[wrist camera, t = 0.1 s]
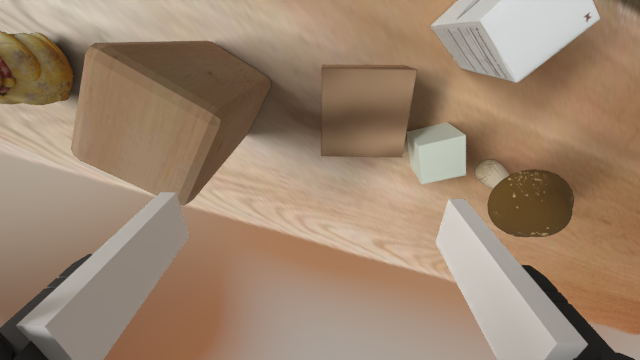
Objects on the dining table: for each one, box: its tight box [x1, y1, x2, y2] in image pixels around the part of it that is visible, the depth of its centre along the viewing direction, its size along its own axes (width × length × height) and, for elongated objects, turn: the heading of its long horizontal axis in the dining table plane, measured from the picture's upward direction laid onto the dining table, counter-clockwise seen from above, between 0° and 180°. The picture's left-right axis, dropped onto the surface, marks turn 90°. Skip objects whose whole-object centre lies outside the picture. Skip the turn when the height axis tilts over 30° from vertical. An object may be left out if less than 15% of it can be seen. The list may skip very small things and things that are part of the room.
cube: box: [406, 122, 466, 184], centre depth 38 cm, size 6×6×6 cm
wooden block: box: [71, 41, 271, 205], centre depth 28 cm, size 10×10×20 cm
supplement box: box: [430, 0, 601, 83], centre depth 27 cm, size 7×7×13 cm
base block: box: [321, 65, 417, 157], centre depth 35 cm, size 11×11×6 cm
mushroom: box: [475, 160, 574, 237], centre depth 35 cm, size 9×11×15 cm
